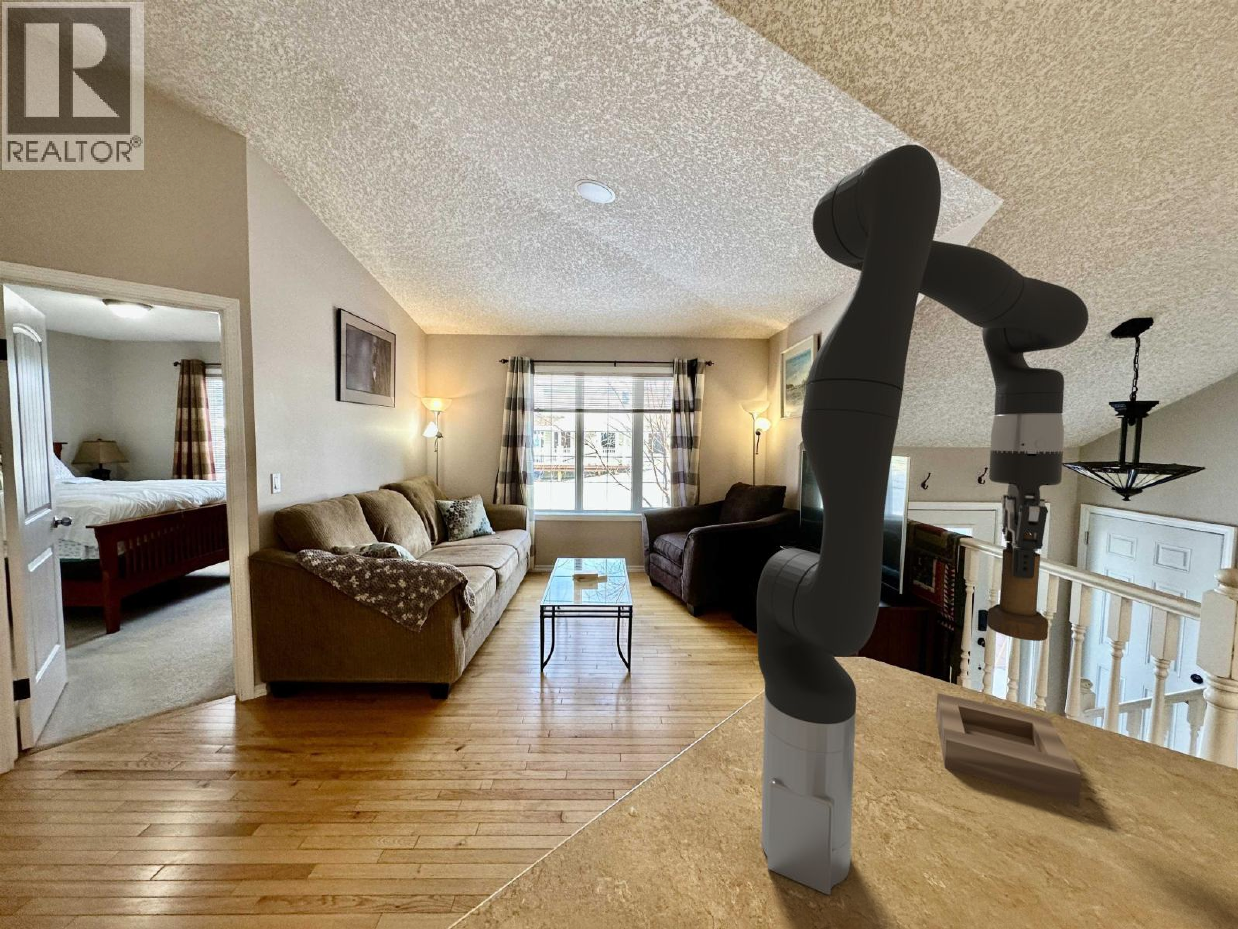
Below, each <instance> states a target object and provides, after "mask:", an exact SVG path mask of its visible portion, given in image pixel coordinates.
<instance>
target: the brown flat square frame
mask: <svg viewBox="0 0 1238 929" xmlns="http://www.w3.org/2000/svg"><path fill="white" fill-rule="evenodd" d="M935 713H936V714H935V717H936V724H937V730H938V735H939V736H938V737H939V740H940V749H941V753H942V759H943V765H944V768H945V769H948V770H952V771H953V772H959V773H963V774H966V775H969V776H973V777H976V778H980V779H983V780H986V781H990V782H994V783H997V784H1000V785H1004V786H1008V787H1011V788H1013V789H1018V790H1022V791H1024V792H1029V793H1031V794H1036V795H1040V796H1042V797H1046V798H1049V799H1053V800H1056V801H1059V802H1063V803H1066V804H1071V805H1074V806H1078V807H1080V799H1081V787H1082V786H1081V783H1082V773H1081V772H1080V769H1079V768H1078V766H1077V764H1076V763H1075V761H1074V759H1073V758H1072V756H1071V754H1070V752H1069V751H1068V749H1067V747H1066V745H1065V744H1064V742H1063V740H1062V738H1061V737H1060V735H1059V733H1058V731H1057V730H1056V727H1055V726H1054V724H1053V722H1052V721H1051V719H1050V717H1048V716H1043V715H1040V714H1039V715H1038V714H1036V713H1035V714H1034V713H1030V712H1025V711H1020V710H1017V709H1012V708H1007V707H1003V706H998V705H993V704H988V703H986V702H985V703H984V702H980V701H975V700H971V699H967V698H962V697H958V696H953V695H948V694H944V693H940V692H937V694H936V712H935Z"/></svg>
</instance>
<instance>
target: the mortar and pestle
mask: <svg viewBox="0 0 1238 929" xmlns="http://www.w3.org/2000/svg"><path fill="white" fill-rule="evenodd" d="M1015 524H1016V525H1018V524H1017V523H1015ZM1011 537H1012V542H1013V533H1012V534H1011ZM1023 538H1028V539H1031V534H1030V533H1027V532H1026V533H1024V534H1023ZM1012 557H1013V549H1006V548H1004V549H1002V558H1001V560H1002V561H1001V562H1002V566H1001V578H1000V593H999V594H1000V596H999V603H998V604H995V605H993V606H992V607H989V608H988V610H987V617H986V618H987V619H986V626H987V627H989V629H990V630H992V631H994V632H996V633H997V634H1001V635H1004V636H1007V637H1011V638H1015V639H1018V640H1024V641H1025V640H1026V641H1033V642H1036V641H1037V642H1038V641H1039V642H1041V641H1045V640H1047V639H1048V636H1049V635H1048V634H1049V620H1048V619H1047V618H1046V617H1045V616H1044V615H1043V614H1042V613H1041V612H1039V611H1037V608H1038V605H1037V604H1038V595H1039V594H1038V593H1039V578H1040V566H1041V554H1040V553H1038V552H1035V568H1034V577H1033V578H1031V579H1027V578H1019V577H1015V576H1014V575H1013V574H1012Z"/></svg>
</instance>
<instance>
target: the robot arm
mask: <svg viewBox="0 0 1238 929" xmlns="http://www.w3.org/2000/svg"><path fill="white" fill-rule="evenodd" d="M941 182H942V181H941V176H940V171H939V167H938V165H937V163H936V160H935V158H934V157H933V155H932V153H931V152H930V151H929V150H928V149H926V148H925V147H923V146H921V145H918V144H904V145H901V146H898V147H895V148H893V149H890V150H889V151H886V152H885V153H884V152H883V153H882V154H880V155H878V156H877V157H875V158H874V159H871V161H869V162H867V163H865V164H863V165H862V166H860V167H859V168H857V169H855V170H854V171H853V172H850V173H849V174H848V175H846V176H845V177H843V178H841V179H840V180H838V181H837V182H836V183H834V184H832V185H831V186H830V187H829V188H828V189H826V190H825V191H823V193H822V194H821V195H820V196H819V198H818V200H817V202H816V203H815V204H814V208H813V212H812V220H811V221H812V230H813V231H812V233H813V235H814V238H815V240H816V243H817V245H818V246H819V248H820V249H821V251H823V253H824V254H825V255H826V256H827V257H829V258H830V259H832V260H833V261H834V262H836V263H838V264H841V265H843V266H845V267H848V268H851V269H854V270H857V271H860V274H859V277H858V281H857V283H856V286H855V289H854V291H853V293H852V295H851V297H850V298H849V300H848V301H847V304H846V306H845V307H844V309H843V311H842V312H841V314H840V315H839V317H838V319H837V320H836V322H835V324H834V325H833V327H832V328H831V330H830V331H829V333H828V334H827V336H826V337H825V340H824V341H823V342H822V345H820V346H821V347H820V348H819V350H818V351H817V354H816V356H815V357H814V358H813V362H812V364H811V366H810V370H809V373H808V377H807V381H806V387H805V393H804V401H803V406H802V407H803V409H802V414H801V421H800V422H801V423H800V433H801V438H802V444H803V448H804V451H805V454H806V457H807V460H808V463H809V465H810V468H811V471H812V473H813V476H814V478H815V482H816V484H817V488H818V490H819V493H820V497H821V502H822V503H821V504H822V514H823V527H822V536H821V537H822V538H821V546H820V553H815V552H813V551H808V550H805V549H800V548H786V549H781V550H779V551H778V552H776V553H774V555H772V556H771V557H770V558H769V559H768V560H767V562H766V563H765V565H764V567H763V569H762V571H761V573H760V578H759V581H758V585H757V593H756V631H757V633H756V634H757V635H756V636H757V659H758V666H759V668H760V672H761V675H762V677H763V679H764V680H763V681H764V706H763V707H764V710H763V713H764V718H763V742H762V743H763V744H762V745H763V748H762V784H761V786H762V787H761V833H760V834H761V837H760V838H761V845H762V849H763V851H764V853H765V855H766V857H767V862H766V866H767V868H768V870H769V871H772V872H774V873H776V874H779V875H782V876H783V877H786V878H789V879H791V880H793V881H795V882H797V883H800V884H802V885H804V886H806V887H809V888H811V889H814V890H816V891H817V892H820V893H823V894H825V895H829V896H830V895H831V892H832V888H833V887H834V886H836V885H838V884H840V883H841V882H843V881H844V880H845V879H846V878H847V877H848V875H849V872H850V871H851V870H850V867H851V857H852V856H851V853H852V852H851V848H852V823H853V821H852V819H853V797H854V796H853V793H854V792H853V791H854V764H855V763H854V762H855V739H856V719H857V718H856V714H857V712H856V710H857V689H856V685H855V682H854V680H853V678H852V677H851V675H850V674H849V673H848V672H847V670H846V669H845V668H844V667H843V666H842V665H841V663H840V662H839V661H838V660H837V658H835V657H843V658H845V657H849V656H853V655H855V654H856V653H857V652H859V651H861V649H863V648H864V646H865V645H867V644H866V643H868V641H869V639H870V637H871V635H872V633H873V631H874V629H875V625H876V622H877V618H878V615H879V614H878V613H879V610H880V603H881V593H882V592H881V591H882V576H883V575H882V573H883V552H884V549H883V548H884V531H885V530H884V528H885V511H886V502H887V494H888V485H889V478H890V477H889V476H890V470H891V464H892V456H893V449H894V445H895V439H896V434H897V431H898V430H897V429H898V425H899V418H900V411H901V404H902V398H903V393H904V392H903V391H904V383H905V374H906V373H905V372H906V367H907V366H906V365H907V359H908V358H907V356H908V350H909V346H910V341H911V334H912V329H913V324H914V320H915V314H916V308H917V303H918V298H919V295H923V296H925V297H928V298H929V299H931V300H933V301H935V302H937V303H939V304H940V305H943V306H944V307H946V308H947V309H949V310H950V311H952V312H954V313H955V314H957V315H958V316H959V317H961V318H963V319H964V320H966V321H968V322H969V323H971V324H972V325H975V326H976V327H979V328H982V330H981V331H982V332H981V333H982V334H981V336H982V341H983V345H984V349H985V352H986V355H987V358H988V361H989V365H990V369H991V372H992V377H993V378H992V379H993V380H994V382H993V383H994V385H995V395H994V412H993V413H994V416H993V422H992V427H991V433H990V452H989V469H988V470H989V472H988V473H989V474H988V475H989V476H988V479H989V480H990V481H991V482H993V483H996V484H997V483H999V484H1007V485H1008V486H1007V494H1002V496H1001V508H1002V512H1001V513H1002V518H1001V523H1002V528H1001V532H1002V534H1003V539H1004V541H1005V542H1006V543H1005V544H1006V545H1005V549H1013V557H1012V574H1013V575H1014V576H1015V577H1019V578H1027V579H1031V578H1033V577H1034V568H1035V553H1036V552H1038V550H1042V549H1043V545H1044V544H1043V541H1044V534H1045V529H1046V521H1047V516H1048V513H1049V509H1048V507H1047V506H1046V501H1045V498H1041V490H1040V488H1041V486H1056V485H1059V484H1060V483H1062V478H1063V477H1062V475H1063V474H1062V473H1063V458H1064V456H1063V455H1064V440H1065V438H1064V437H1065V429H1064V428H1065V427H1064V422H1063V418H1064V417H1063V412H1064V394H1065V393H1064V392H1065V391H1064V390H1065V379H1064V374H1063V373H1062V372H1061V371H1059V370H1057V369H1052V368H1044V367H1043V368H1040V367H1030V366H1029V364H1028V363H1027V361H1026V359H1025V357H1024V356H1025V355H1024V354H1025V353H1030V352H1031V353H1033V352H1041V351H1047V350H1055V349H1059V348H1064V347H1067V346H1068V345H1071V344H1073V343H1074V342H1075V341H1078V339H1079V338H1080V337H1081V336H1082V335H1083V334H1084V332H1085V331H1086V330H1087V326H1088V324H1089V310H1088V308H1087V306H1086V304H1085V302H1084V300H1083V299H1082V298H1081V297H1080V296H1079V295H1078V294H1077V293H1075V292H1073V291H1072V290H1070V289H1068V288H1067V287H1064V286H1061V285H1059V284H1054V283H1051V282H1048V281H1044V280H1040V279H1037V278H1033V277H1028V276H1024V275H1023V274H1021V273H1020V272H1019V271H1018V270H1016V269H1015V268H1013V266H1011V265H1009V263H1007V262H1006V261H1005V260H1003V259H1002V258H1000V257H998V256H996V255H994V254H993V253H991V252H989V251H986V250H983V249H980V248H977V247H971V246H967V245H963V244H962V245H961V244H956V243H951V242H944V241H938V240H934V236H935V233H936V228H937V226H938V220H939V216H940V210H941V201H942V183H941ZM1015 523H1017V524H1018V525H1016V524H1015ZM1026 532H1027V533H1030V535H1031V539H1028V538H1023V534H1024V533H1026ZM1012 533H1013V542H1012V537H1011V534H1012Z"/></svg>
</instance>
